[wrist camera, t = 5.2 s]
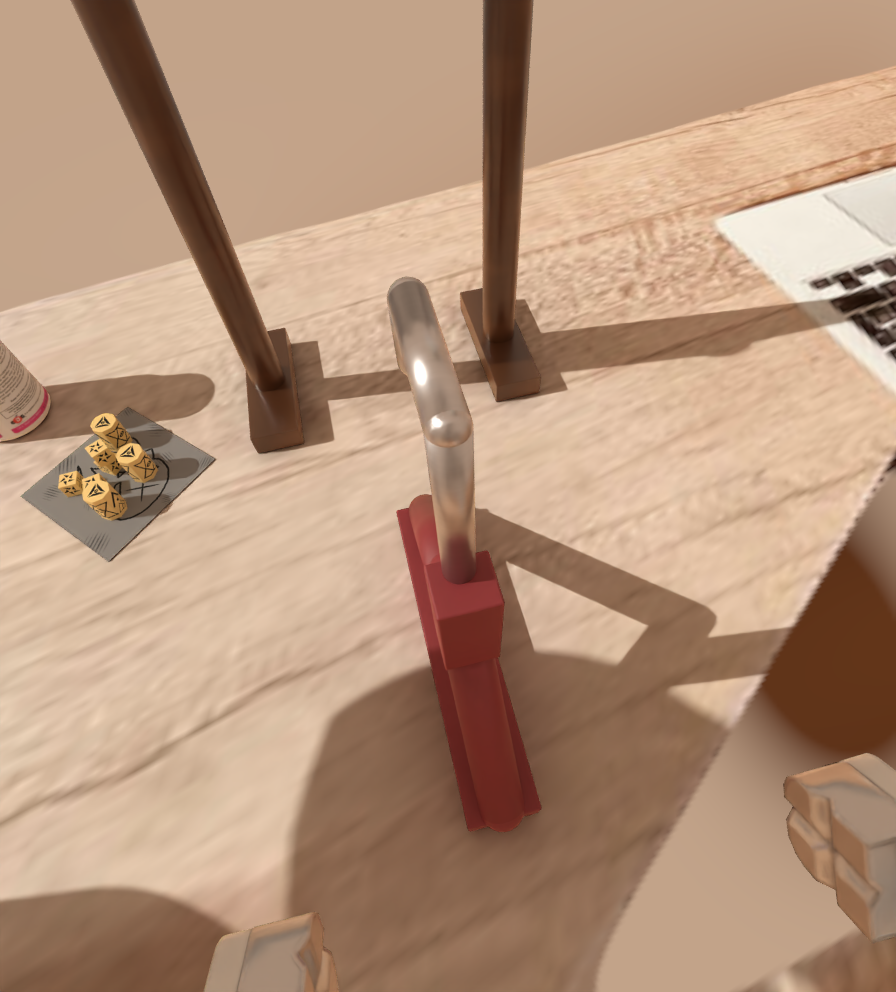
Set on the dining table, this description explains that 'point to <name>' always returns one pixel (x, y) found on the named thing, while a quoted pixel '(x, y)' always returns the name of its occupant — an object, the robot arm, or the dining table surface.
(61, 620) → the dining table surface
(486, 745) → the hanger
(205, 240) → the rail
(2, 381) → the pill bottle
